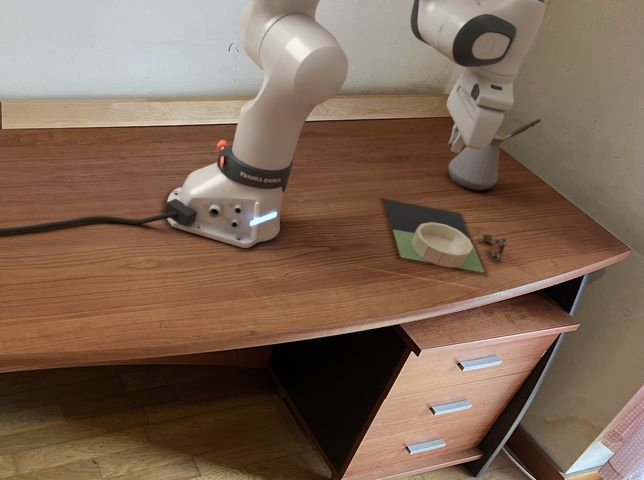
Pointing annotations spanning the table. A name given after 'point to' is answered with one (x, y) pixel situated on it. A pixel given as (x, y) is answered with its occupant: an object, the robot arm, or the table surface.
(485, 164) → the coffee pot
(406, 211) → the desk mat
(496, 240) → the wooden post with brackets
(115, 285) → the table surface
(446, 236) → the bowl
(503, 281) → the table surface
